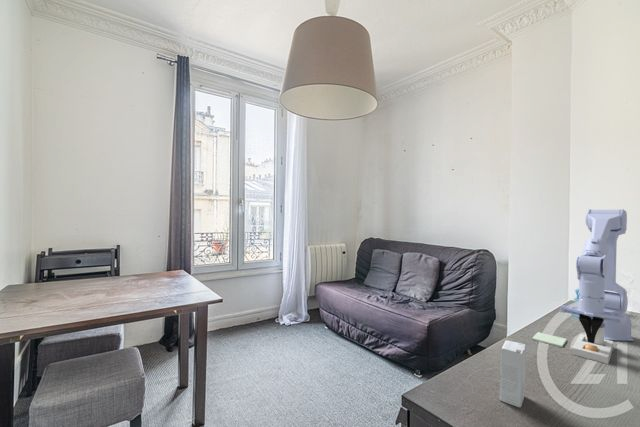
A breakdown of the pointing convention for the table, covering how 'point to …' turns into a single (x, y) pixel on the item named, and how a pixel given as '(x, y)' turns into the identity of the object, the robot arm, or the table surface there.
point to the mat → (549, 339)
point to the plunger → (591, 347)
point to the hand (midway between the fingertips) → (591, 341)
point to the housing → (601, 354)
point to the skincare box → (512, 373)
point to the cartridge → (598, 336)
